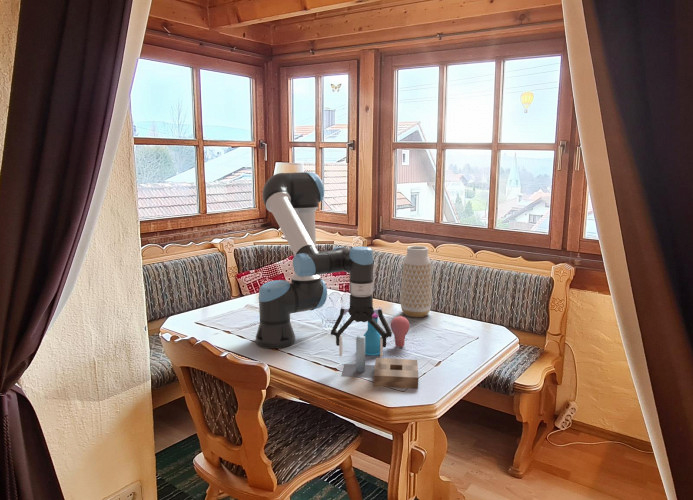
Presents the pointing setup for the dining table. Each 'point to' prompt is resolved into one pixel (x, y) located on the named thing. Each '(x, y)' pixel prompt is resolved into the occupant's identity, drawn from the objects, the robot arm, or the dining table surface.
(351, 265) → the robot arm
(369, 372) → the mat
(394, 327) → the light bulb
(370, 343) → the perfume bottle
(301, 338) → the dining table surface
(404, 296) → the vase
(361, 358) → the peg
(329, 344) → the dining table surface
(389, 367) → the hole block
